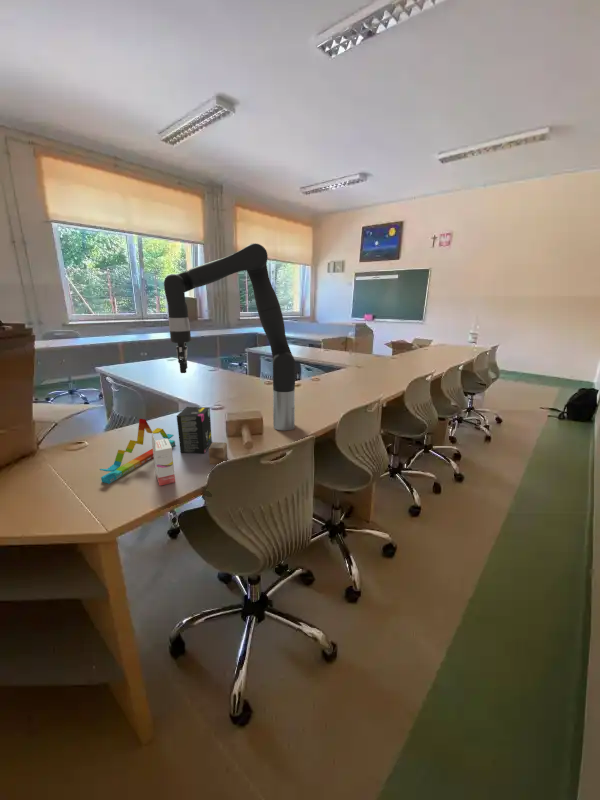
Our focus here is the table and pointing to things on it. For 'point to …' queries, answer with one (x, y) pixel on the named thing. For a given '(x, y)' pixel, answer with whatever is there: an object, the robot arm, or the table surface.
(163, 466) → the ink cartridge box
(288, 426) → the robot arm
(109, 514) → the table surface
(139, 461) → the chart
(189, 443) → the tampon box
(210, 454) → the walnut block
